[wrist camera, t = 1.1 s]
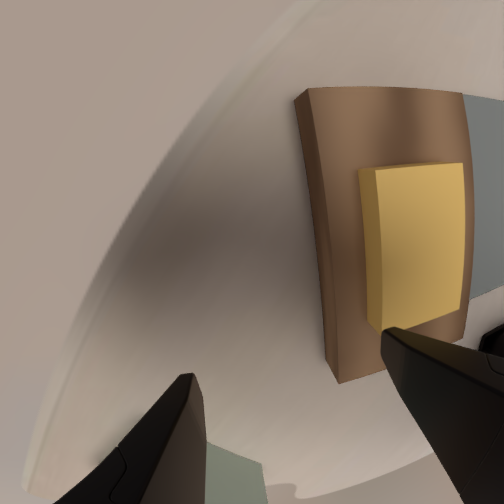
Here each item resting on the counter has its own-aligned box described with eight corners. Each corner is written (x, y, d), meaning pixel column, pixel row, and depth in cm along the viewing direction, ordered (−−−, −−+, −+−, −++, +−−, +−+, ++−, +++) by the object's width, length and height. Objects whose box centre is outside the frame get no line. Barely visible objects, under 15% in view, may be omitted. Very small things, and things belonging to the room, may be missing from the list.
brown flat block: (436, 98, 17) (462, 93, 14) (442, 321, 22) (462, 337, 19) (294, 99, 17) (307, 88, 14) (325, 359, 22) (338, 384, 19)
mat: (505, 102, 18) (508, 102, 17) (508, 279, 22) (511, 281, 22) (430, 91, 17) (433, 90, 17) (440, 308, 22) (442, 310, 21)
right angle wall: (99, 463, 24) (84, 517, 16) (152, 413, 22) (138, 485, 15) (192, 503, 26) (192, 553, 19) (261, 463, 25) (271, 525, 18)
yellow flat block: (441, 161, 15) (462, 162, 14) (442, 297, 18) (459, 308, 16) (357, 169, 15) (375, 170, 13) (367, 321, 18) (381, 336, 16)
